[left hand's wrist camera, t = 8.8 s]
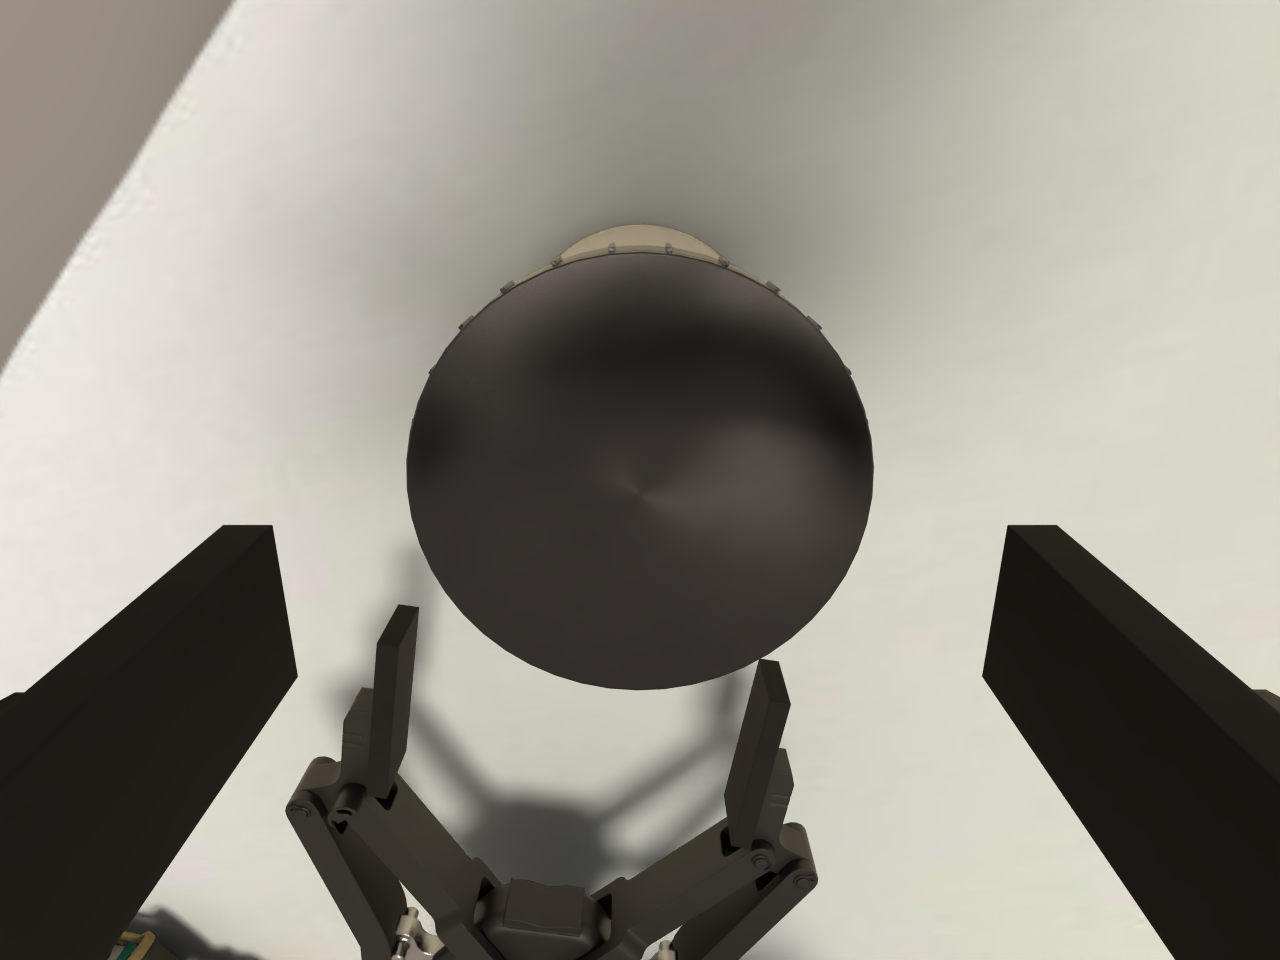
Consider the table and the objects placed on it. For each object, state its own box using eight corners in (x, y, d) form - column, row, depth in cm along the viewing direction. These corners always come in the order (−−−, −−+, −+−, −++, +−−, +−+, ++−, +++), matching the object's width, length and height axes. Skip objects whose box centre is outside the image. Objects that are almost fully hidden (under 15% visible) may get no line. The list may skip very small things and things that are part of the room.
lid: (599, 720, 22) (596, 764, 20) (329, 423, 19) (301, 446, 17) (937, 508, 20) (963, 538, 18) (690, 138, 17) (695, 135, 15)
